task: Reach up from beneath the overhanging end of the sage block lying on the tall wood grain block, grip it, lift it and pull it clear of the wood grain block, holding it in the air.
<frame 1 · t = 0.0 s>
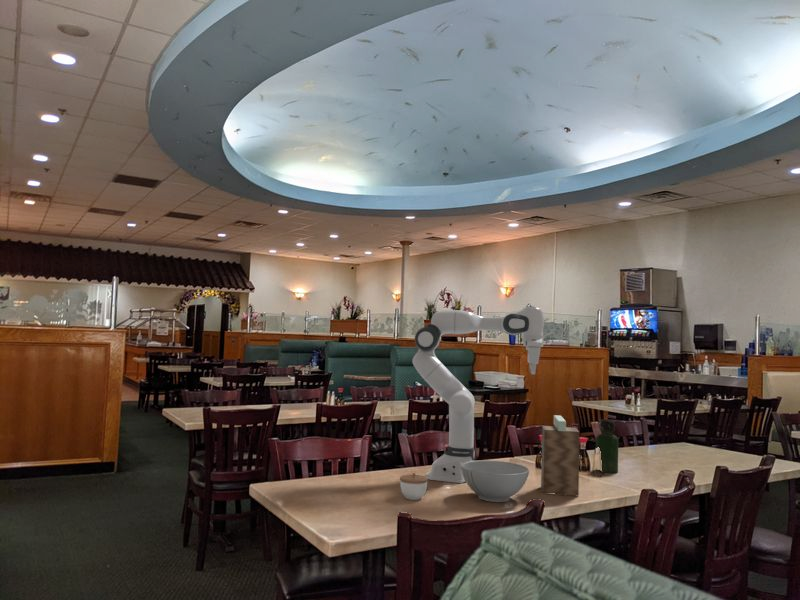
hand: (532, 373, 271), 48 cm above the table, tool pointing down, fingers open, 8 cm apart
decorative bowl: (493, 498, 241), on the table
lidded jar: (413, 498, 237), on the table
wood grain block: (559, 491, 255), on the table
sage block: (559, 427, 260), point 26 cm above the table, touching wood grain block
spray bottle: (606, 471, 301), on the table
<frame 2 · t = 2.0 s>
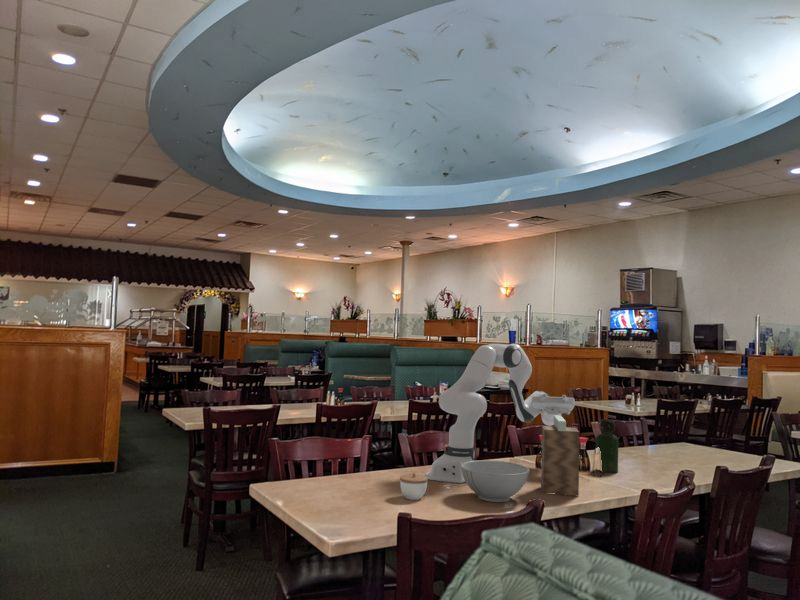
hand: (554, 395, 289), 37 cm above the table, tool pointing upward, fingers open, 8 cm apart
nothing on the table moved.
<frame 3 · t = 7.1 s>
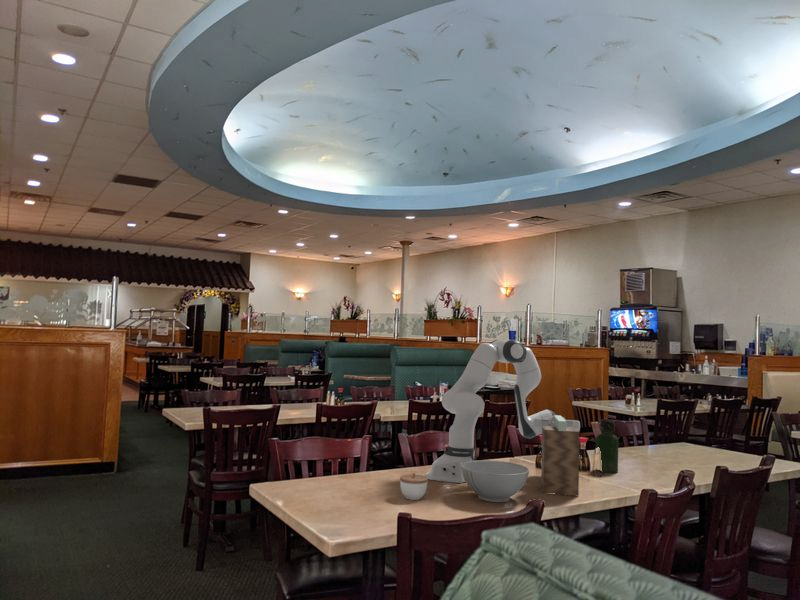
hand: (557, 418, 267), 29 cm above the table, tool pointing upward, fingers closed on sage block, 3 cm apart
sage block: (559, 427, 260), point 26 cm above the table, touching gripper, wood grain block
everything else where it was.
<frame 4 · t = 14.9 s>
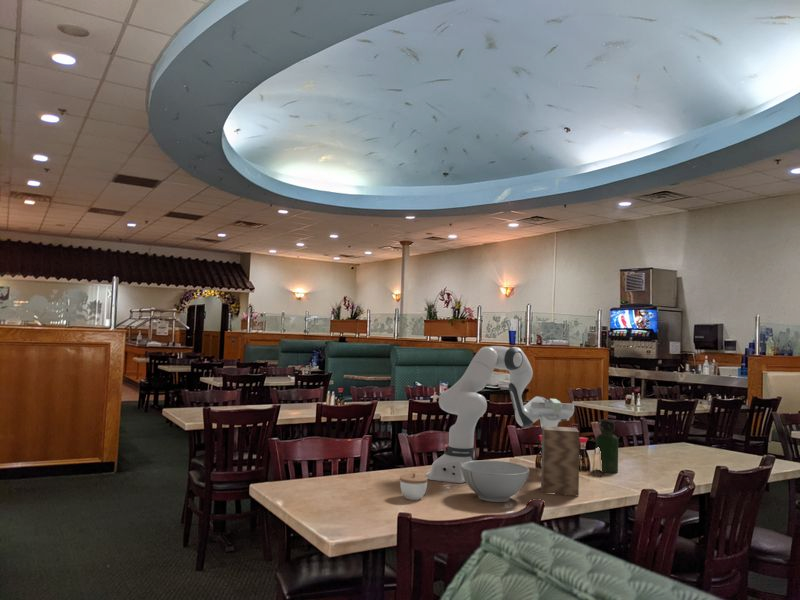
hand: (553, 401, 288), 34 cm above the table, tool pointing upward, fingers closed on sage block, 3 cm apart
sage block: (554, 409, 281), point 31 cm above the table, touching gripper
everything else where it was.
at the end: the gripper is holding sage block; sage block touching gripper; sage block point 31.4 cm above the table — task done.
